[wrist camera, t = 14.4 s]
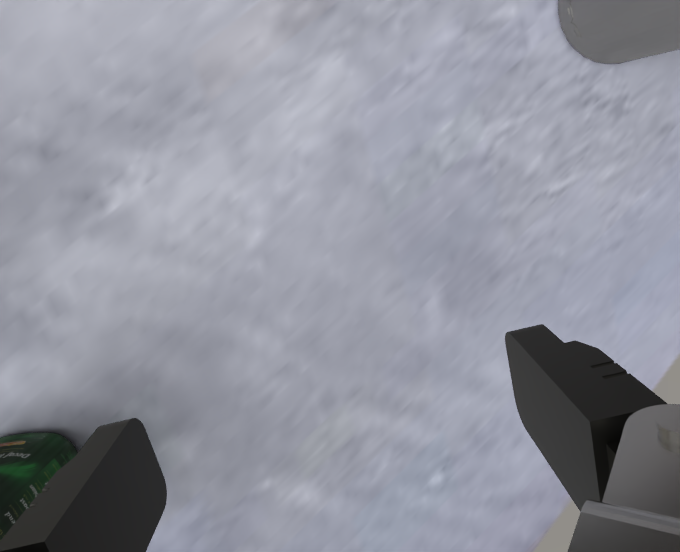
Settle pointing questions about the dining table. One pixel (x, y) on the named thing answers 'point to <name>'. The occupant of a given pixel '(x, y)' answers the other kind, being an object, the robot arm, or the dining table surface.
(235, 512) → the dining table surface
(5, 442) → the coffee jar
